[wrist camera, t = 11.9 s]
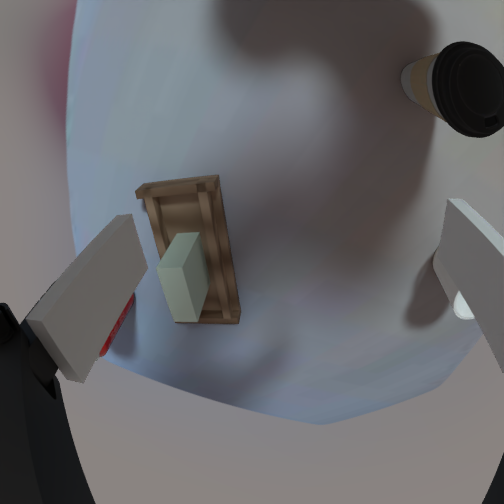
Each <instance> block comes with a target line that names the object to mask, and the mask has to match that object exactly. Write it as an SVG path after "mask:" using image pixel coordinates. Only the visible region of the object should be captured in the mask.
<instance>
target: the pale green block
mask: <svg viewBox="0 0 504 504" xmlns="http://www.w3.org/2000/svg"><path fill="white" fill-rule="evenodd" d="M156 270H157V273H158V276H159V279H160V282H161V285H162V288H163V291H164V294H165V297H166V300H167V303H168V306H169V309H170V312H171V315H172V317H173V320H174V322H198V320H199V317H200V314H201V310H202V307H203V304H204V301H205V298H206V295H207V292H208V289H209V286H210V283H211V282H210V278H209V273H208V269H207V265H206V260H205V255H204V251H203V246H202V241H201V237H200V232H192V233H177V234H176V236H175V237H174V239H173V241H172V242H171V244H170V246H169V247H168V249H167V251H166V252H165V254H164V256H163V257H162V259H161V261H160V262H159V264H158V266H157V267H156Z"/></svg>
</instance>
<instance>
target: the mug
mask: <svg viewBox="0 0 504 504" xmlns="http://www.w3.org/2000/svg"><path fill="white" fill-rule="evenodd" d="M438 249H439V247H438V248H437V250H436V252H435V254H434V257H433V269H434V271H435V273H436V275H437V277H438V279H439V281H440V283H441V285H442V287H443V289H444V291H445V293H446V295H447V297H448V299H449V301H450V304H451V306H452V308H453V310H454V312H455V314H456V315H457V316H458V317H459V318H462V319H473V318H475V317H474V315H473V313H472V312H471V310H470V308H469V306H468V305H467V303H466V301H465V300H464V298H463V296H462V295H461V293H460V291H459V290H458V288H457V286H456V285H455V283H454V281H453V280H452V278H451V277H450V275H449V274H448V272H447V270H446V269H445V267H444V266H443V264H442V263H441V261H440V260H439V258H438V257H437V254H438Z"/></svg>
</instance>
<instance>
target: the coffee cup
mask: <svg viewBox="0 0 504 504" xmlns="http://www.w3.org/2000/svg"><path fill="white" fill-rule="evenodd" d="M401 84H402V88H403V90H404V92H405V94H406V95H407V97H408V98H409V99H410V100H412V101H413V102H415V103H416V104H418V105H420V106H422V107H423V108H424V109H425V110H427V111H428V112H430V113H432V114H434V115H435V116H437V117H439V118H440V119H442V120H444V121H445V122H447V123H448V124H449V125H450V126H451V127H452V128H453V129H454V130H456V131H457V132H459V133H461V134H463V135H465V136H468V137H476V138H483V137H487V136H490V135H492V134H494V133H495V132H497V131H498V130H500V129H501V128H502V127H503V126H504V67H503V65H502V64H501V63H500V62H499V60H497V58H496V57H495V56H494V55H493V54H492V53H491V52H489V51H488V50H487V49H485V48H484V47H482V46H480V45H477V44H474V43H470V42H464V41H463V42H455V43H452V44H450V45H448V46H447V47H445V48H444V49H443V50H442V51H441V52H440V53H437V54H434V55H430V56H427V57H424V58H422V59H420V60H418V61H415V62H412V63H410V64H408V65H407V66H406V67H405V68H404V69H403V71H402V73H401Z"/></svg>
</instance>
